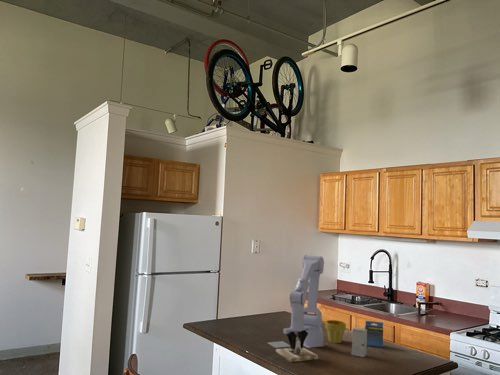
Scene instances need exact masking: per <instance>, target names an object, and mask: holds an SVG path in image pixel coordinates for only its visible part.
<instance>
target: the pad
mask: <svg viewBox="0 0 500 375" xmlns="http://www.w3.org/2000/svg"><path fill="white" fill-rule="evenodd" d="M267 344H268V345H270V346H271V347H273V348H275V349H280V348H290V347H291V346H290V343H289V344H288V343H287V342H285V341H283V340H281V341H271V342H267Z"/></svg>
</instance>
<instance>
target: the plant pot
mask: <svg viewBox="0 0 500 375" xmlns="http://www.w3.org/2000/svg"><path fill="white" fill-rule="evenodd" d="M346 326H347V323H346V322H345V321H343V320H338V319H328V320H326V321H325V329H326V331H327V332H326V333H327V338H328V342H330V343H332V344H340V343H342V341H343V337H344V334H345V331H346V330H347V328H346Z"/></svg>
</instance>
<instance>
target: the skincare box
mask: <svg viewBox="0 0 500 375" xmlns="http://www.w3.org/2000/svg"><path fill="white" fill-rule="evenodd" d="M351 330H352V334H351V336H352V337H351V355H352V356H356V357H361V358H365V357H366V356H367V329H365V327H357V326H354V327H352V329H351Z"/></svg>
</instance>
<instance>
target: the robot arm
mask: <svg viewBox="0 0 500 375" xmlns="http://www.w3.org/2000/svg"><path fill="white" fill-rule="evenodd" d="M324 260H325V259H324V257H323V256H315V255H303V257H302V259H301V261H302V268H303V270H302V273H301V277H300V278H298V279H297V282H296V284H295V287H294V288H293V290H292V291H290V295H289V302H290V308H291V310H290V311H291V313H290V314H291V315H290V327H285V328H283V329H282V330H283V331H282V332H283V334H285V335H286V336H287V339H288V341H289V345H290V346H289V347H290V348H291V349H293V350H294V349H295V342H296V338H300V339H301V348H304V347H306V349H307V348H310V349H311V348H318V347H325V345H324V330H323V328H322V327H321V326H322V324H323V317H322V315H323V313H322V311H321V310H320V309H319V308H318V296H319V285H320V284H319V283H320V276H321V274H324V267H325V266H324V265H325V261H324ZM306 302H307V303H306ZM305 304H307V305H306V307H305ZM295 333H296V334H295Z"/></svg>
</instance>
